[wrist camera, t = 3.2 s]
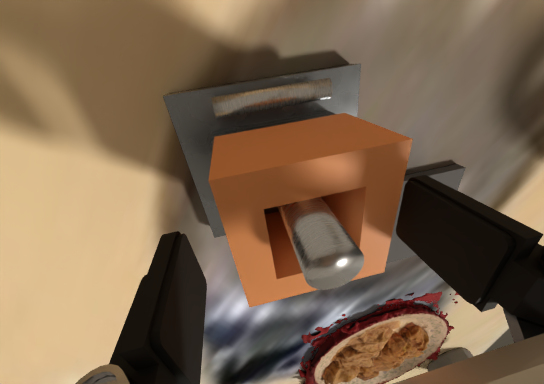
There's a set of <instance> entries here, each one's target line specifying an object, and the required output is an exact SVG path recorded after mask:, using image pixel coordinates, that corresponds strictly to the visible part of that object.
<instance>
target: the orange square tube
mask: <svg viewBox="0 0 544 384" xmlns="http://www.w3.org/2000/svg"><path fill="white" fill-rule="evenodd" d="M412 140H413V139H411V138H409V137H406V136H403V135H401V134H398V133H396V132H393V131H390V130H388V129H385V128H383V127H380V126H378V125H375V124H372V123H370V122H367V121H365V120H362V119H359V118H357V117H354V116H352V115H349V114H347V113H341V114H335V115H330V116H325V117H319V118H314V119H308V120H303V121H298V122H292V123H287V124H281V125H276V126H270V127H265V128H260V129H254V130H249V131H243V132H238V133H233V134H227V135H222V136H216V137H214V144H213V151H212V158H211V166H210V173H209V180H208V181H209V184H210V187H211V190H212V193H213V196H214V199H215V202H216V205H217V208H218V211H219V215H220V218H221V221H222V224H223V227H224V230H225V233H226V236H227V239H228V242H229V245H230V248H231V252H232V255H233V258H234V261H235V264H236V267H237V270H238V273H239V276H240V279H241V282H242V285H243V288H244V292H245V295H246V298H247V301H248V304H249V307H253V306H257V305H261V304H264V303H268V302H272V301H276V300H280V299H283V298H287V297H291V296H295V295H299V294H302V293H306V292H310V291H314V290H318V289H315V288H313V287H311V286H309V285H308V284H307V282H306V280H305V278H304V275H303V272H302V270H301V267H300V264H299V262H298V259H297V257H296V254H295V251H294V249H293V246H292V243H291V241H290V238H289V236H288V233H287V230H286V228H285V225H284V222H283V220H282V217H281V215H280V212H279V211H278V212H274V213H269V214H264V209H267V208H272V207H276V206H281V205H285V204H290V203H294V202H299V201H303V200H308V199H312V198H317V197H322V199H323V200H324V202H325V203H326V204H327V206H328V207H329V208H330V210H331V211H332V212H333V214H334V215H335V216H336V218H337V219H338V220H339V222H340V223H341V224H342V226H343V227H344V229H345V230H346V231H347V233H348V234H349V235H350V237H351V238H352V239H353V241H354V242H355V243H356V245H357V246H358V247H359V249H360V250H361V251H362V253H363V255H364V264H363V267H362V269H361V271H360V272H359V273H358V274H357V275H356V276H355V277H354V278H353V279H352V280H356V279H359V278H363V277H367V276H371V275H375V274H378V273H382V272H384V270H385V266H386V261H387V256H388V252H389V247H390V242H391V238H392V233H393V228H394V224H395V219H396V214H397V210H398V205H399V200H400V196H401V191H402V186H403V182H404V177H405V172H406V168H407V163H408V158H409V154H410V149H411V144H412ZM352 280H351V281H352Z"/></svg>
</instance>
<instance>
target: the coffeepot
mask: <svg viewBox="0 0 544 384" xmlns="http://www.w3.org/2000/svg"><path fill="white" fill-rule="evenodd" d="M471 357H473V355H472V354H471V352H470V351H469V350H467V349H465V348H457V349H453V350H450V351H448V352H446V353H444V354H442V355H440V356H438V357H437V358H438V359H437V360H432V361H431V362H430V363H429V365H428V371H432V370H435V369H438V368H441V367H444V366H447V365H450V364H453V363H456V362H459V361H462V360H465V359H468V358H471Z"/></svg>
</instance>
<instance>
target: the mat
mask: <svg viewBox="0 0 544 384" xmlns="http://www.w3.org/2000/svg"><path fill="white" fill-rule="evenodd" d="M464 171H465V167H463V166H460V165H458V164H455V165H450V166H446V167H441V168H437V169H432V170H428V171H423V172H418V173H414V174H409V175H405V177H404V182H403V186H402V191H401V196H400V200H399V205H398V210H397V214H396V219H395V224H394V228H393V233H392V238H391V242H390V247H389V252H388V256H387V261H386V263H390V262H394V261H397V260H401V259H405V258H409V257H413V256H417V254H415V253H414V252H413V251H412V250H411V249H410V248H409V247H408V246H407V245H406V244H405V243H404V242H403V241H402V240H401V239H400V238H399V237H398V236H397V234H396V226H397V221H398V216H399V211H400V206H401V201H402V196H403V191H404V186H405V184H406V183H407V181H408V180H409V179H410V178H412V177H416V176H420V175H427V176H429V177H431V178H433V179H435V180H437V181H439V182H441V183H443V184H445V185H447V186H449V187H451V188H453V189H455V190H458V187H459V184H460V181H461V179H462V176H463V173H464Z"/></svg>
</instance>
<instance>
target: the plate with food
mask: <svg viewBox="0 0 544 384" xmlns="http://www.w3.org/2000/svg"><path fill="white" fill-rule="evenodd" d="M413 294H414V293H413ZM413 294H411V296H412V295H413ZM441 295H442V292H438V293H434V294H432V293H431V294H429V293H427V294H425V295H424V296H422V297H417V298H414V299H413V300H408V301H403V300H402V299H397V300H396V299H394V300H392V301H386V304H385V307H384V306H383V308H382V307H379V308H377V309H380V308H382V310H379V311H376V312H374V313H372V314H369V315H367V316H364V317H362V318H360V319H358V320H356V321H354V322H352V323H348V324H346V325H344V326H343V327H341V328H340V329H337V330H336V332H334V333H331V336H330V335H327V336H326V337H324V336H323V337H321V338H319V339H318V338H317V339H318V340H316V341H313V342H312V345H313V347H314V346H316V347H315V348H314V351H315V349H316V348H318V347H320V348H319V349H318V350H319V351H318V352H317V354H316V355H315V357H314V359H313V360H312V361H311V360H309V361H306V363H305V365H306V364H307V365H308V368H307V369H306V367H305V365H303V361H302V362H301V363H300V364H301V366H302V368H303V369H305V370H306V371H307V372H303V371H302V370H299V373H300V376H301V377H305V378H306V381H305V383H303V384H384V383H386V382H389V381H391V380H393V379H394V378H398V377H400V376H401V375H403V374H404V373H405V372H408V371H410V370H412V369H414V367H416V366H420V364H421V363H422V362H424V361H425V360H426V359H433V360H437V359H438V358H437V356H439V355H438V352H440V348H441V346H442V344H443V342H444V339H446V338H445V337H446V335H448V333H450V332H449V331H451V329H454V327H453V326H449V323H448V321H447V320H446V319H445V317H446V316H447V315H448V314H447V313H446V315H443V314H442V313H443V312H442V311H441V312H440V315H438V314H436V313H439V312H438V311H439V310H437V311H436V313H435V311H431V309H430V308H429V307H428V306H426V305H425V306H423V304H422V305H420V304H418V305H414V304H413V303H414V301H416V300H417V301H418V300H420V301H425V302H426V301H428V302H426V303H430V302H432V301H433V304H434V303H437V302H434V300H435V301H439V299H440V297H441ZM450 295H451V294H450ZM455 295H459V294H458V293H457V292H456V294H455ZM405 296H406V295H405ZM412 298H413V297H412ZM401 300H402V301H401ZM453 300H455V299H453ZM399 301H401V302H399ZM392 303H393V304H392ZM401 303H402V304H401ZM452 303H453V302H452ZM454 303H458V302H457V301H456V302H454ZM387 304H388V305H387ZM389 304H391V305H392V306H391V305H389ZM430 304H431V303H430ZM378 305H379V304H378ZM386 305H387V306H386ZM435 305H436V304H435ZM435 305H434V306H435ZM387 307H389V308H387ZM436 307H437V308H438V305H436ZM439 309H440V308H439ZM342 316H345V314H344V315H342ZM342 320H347V318H344V319H342ZM342 320H337V322H335V323H340V322H341V321H342ZM332 325H333V324H331V325H330V326H332ZM330 326H329V327H326V328H322V327H317V328H316V329H315V330H317V331H319V330H320V331H321V333H320V334H318V335H316V336H311V334H310V333H309V335H302V339H303V341H304V343H307V342H308V343H311V340H312V339H315V338H316V337H318V336H320V335H322V334H325V333H327V332H328V330H329V328H330ZM336 328H337V327H336ZM329 336H330V337H329ZM327 338H328V339H327ZM325 340H326V341H325ZM324 341H325V342H324ZM312 345H311V346H312ZM311 353H313V351H312V352H311ZM313 355H314V354H313ZM313 355H312V356H313ZM303 358H304V356H303V357H302V359H303ZM310 359H311V358H310Z"/></svg>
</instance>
